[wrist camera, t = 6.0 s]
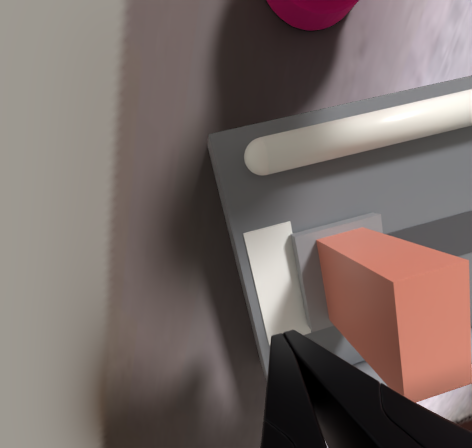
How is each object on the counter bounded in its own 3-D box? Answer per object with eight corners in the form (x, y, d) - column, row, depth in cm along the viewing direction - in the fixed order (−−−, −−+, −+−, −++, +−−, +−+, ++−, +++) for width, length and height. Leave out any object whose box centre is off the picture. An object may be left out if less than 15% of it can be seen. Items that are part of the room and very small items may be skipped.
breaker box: (470, 86, 16) (608, 38, 11) (474, 298, 19) (580, 345, 14) (207, 145, 15) (209, 126, 9) (261, 364, 18) (286, 445, 13)
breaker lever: (372, 212, 12) (498, 238, 7) (382, 302, 13) (498, 384, 8) (290, 234, 12) (358, 278, 7) (307, 325, 13) (377, 425, 8)
